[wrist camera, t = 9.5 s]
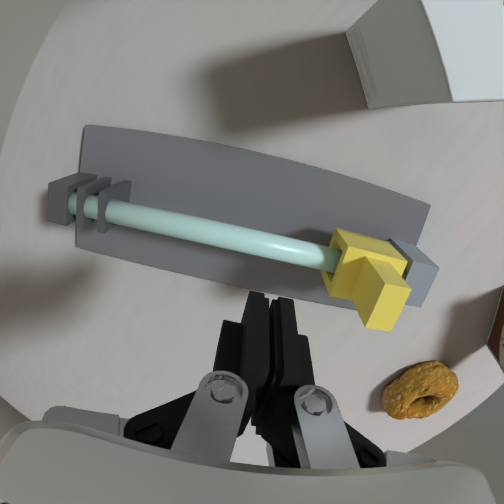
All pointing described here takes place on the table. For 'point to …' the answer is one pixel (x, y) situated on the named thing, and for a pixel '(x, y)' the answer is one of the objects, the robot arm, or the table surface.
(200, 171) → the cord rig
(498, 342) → the food container
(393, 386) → the bagel
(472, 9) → the supplement box
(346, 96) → the table surface
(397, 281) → the sleeve
